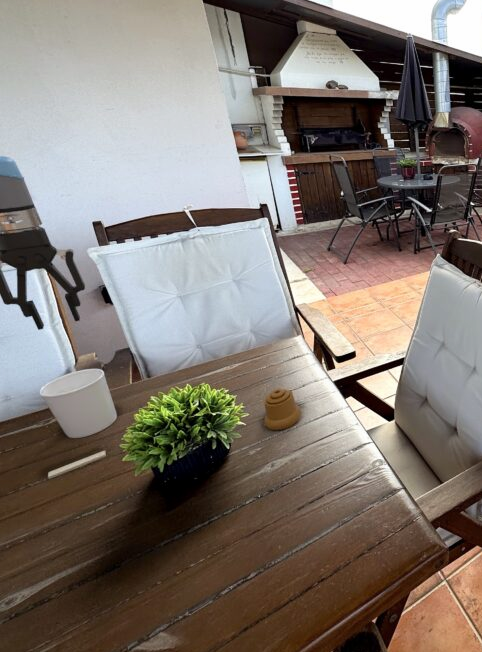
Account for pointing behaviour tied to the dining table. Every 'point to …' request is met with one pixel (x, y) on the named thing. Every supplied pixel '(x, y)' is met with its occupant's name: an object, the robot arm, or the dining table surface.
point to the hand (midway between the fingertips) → (59, 323)
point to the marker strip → (76, 464)
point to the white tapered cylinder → (80, 402)
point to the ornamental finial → (281, 410)
